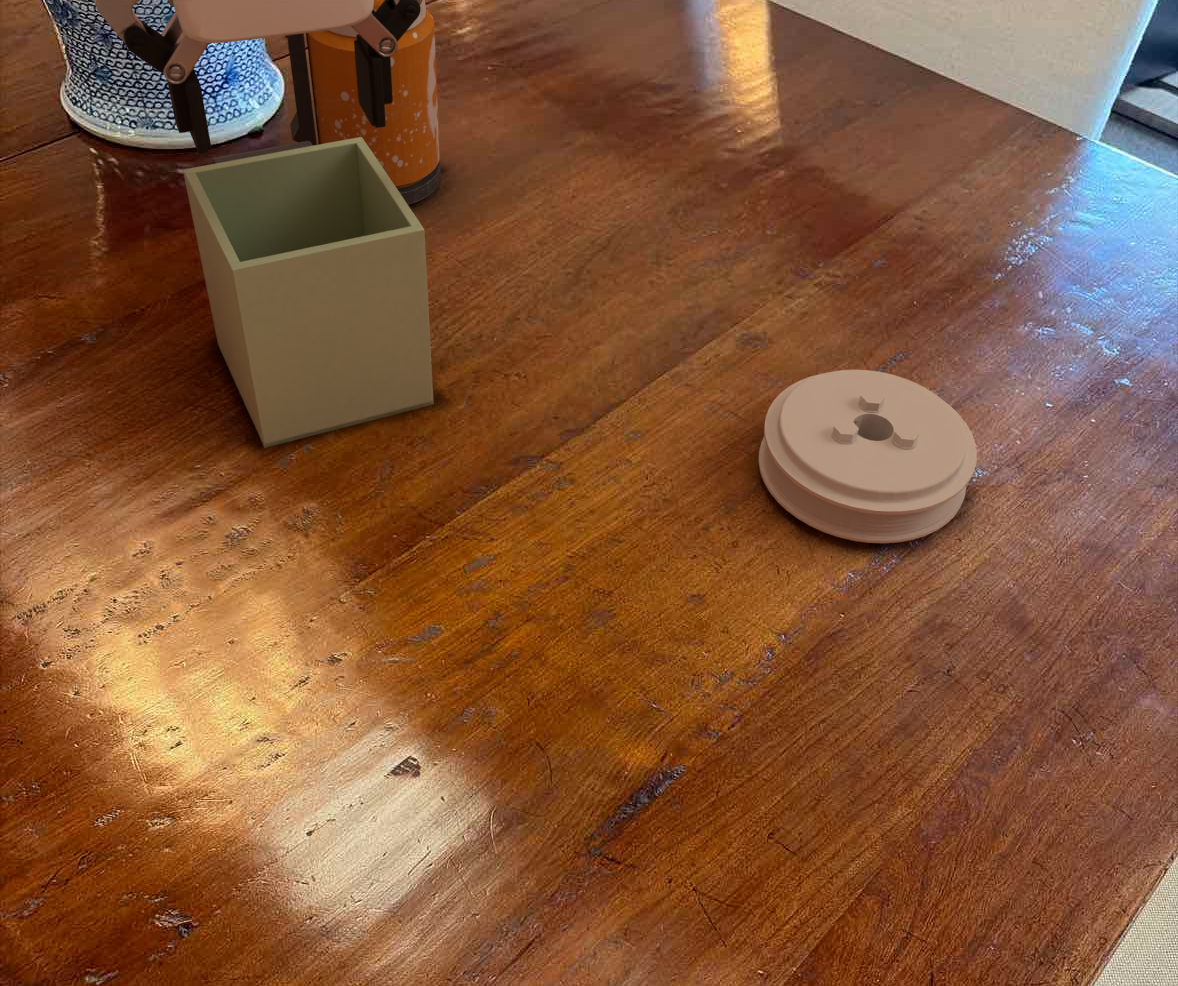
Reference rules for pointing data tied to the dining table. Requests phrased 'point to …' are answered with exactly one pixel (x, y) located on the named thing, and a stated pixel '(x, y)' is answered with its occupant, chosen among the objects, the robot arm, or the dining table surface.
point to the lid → (866, 456)
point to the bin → (314, 286)
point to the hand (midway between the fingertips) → (287, 128)
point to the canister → (409, 118)
